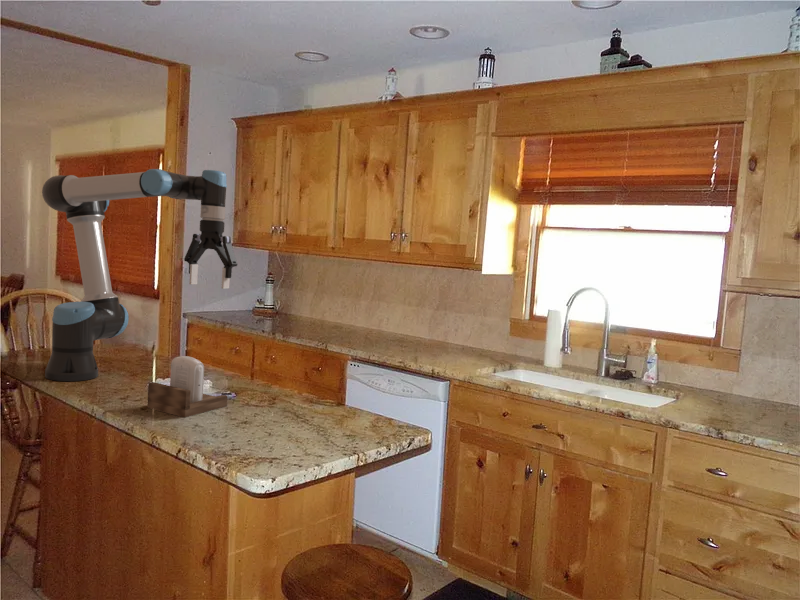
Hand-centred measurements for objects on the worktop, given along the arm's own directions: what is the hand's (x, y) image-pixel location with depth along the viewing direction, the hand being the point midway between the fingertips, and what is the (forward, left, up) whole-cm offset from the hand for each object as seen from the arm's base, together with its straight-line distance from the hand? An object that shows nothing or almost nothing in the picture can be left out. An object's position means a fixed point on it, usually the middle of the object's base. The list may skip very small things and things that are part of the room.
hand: (209, 286), depth 208 cm
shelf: (+17, -24, -32) cm, 43 cm away
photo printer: (+17, -25, -30) cm, 43 cm away
